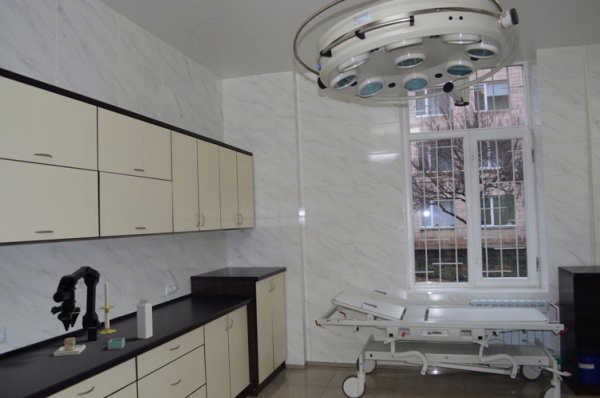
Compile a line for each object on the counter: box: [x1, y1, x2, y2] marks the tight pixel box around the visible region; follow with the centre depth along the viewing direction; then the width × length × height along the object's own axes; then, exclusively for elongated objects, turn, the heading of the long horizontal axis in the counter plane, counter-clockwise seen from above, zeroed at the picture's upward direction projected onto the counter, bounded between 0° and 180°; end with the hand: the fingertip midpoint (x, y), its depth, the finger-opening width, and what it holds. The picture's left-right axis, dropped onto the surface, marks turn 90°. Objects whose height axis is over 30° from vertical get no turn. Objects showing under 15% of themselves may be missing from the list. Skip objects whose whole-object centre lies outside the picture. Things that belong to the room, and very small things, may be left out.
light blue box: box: [107, 337, 126, 351], centre depth 247 cm, size 7×7×4 cm
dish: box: [53, 344, 86, 357], centre depth 241 cm, size 12×12×2 cm
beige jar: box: [64, 337, 76, 352], centre depth 241 cm, size 4×4×6 cm
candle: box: [98, 280, 117, 335], centre depth 285 cm, size 10×10×32 cm
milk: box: [136, 298, 153, 340], centre depth 267 cm, size 6×6×22 cm
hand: (69, 329), depth 242 cm, fingers open, 9 cm apart
